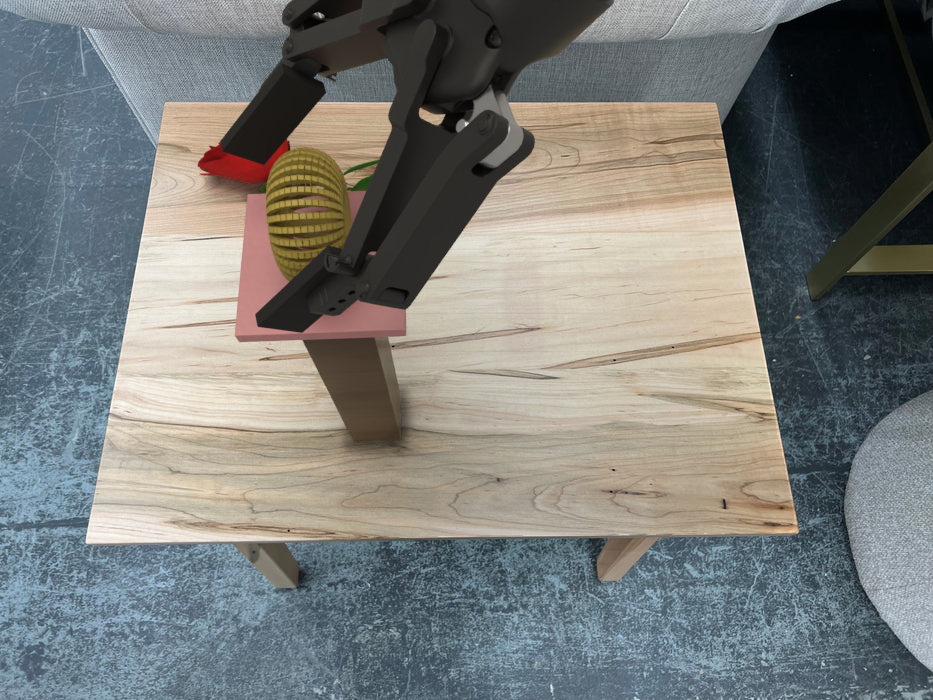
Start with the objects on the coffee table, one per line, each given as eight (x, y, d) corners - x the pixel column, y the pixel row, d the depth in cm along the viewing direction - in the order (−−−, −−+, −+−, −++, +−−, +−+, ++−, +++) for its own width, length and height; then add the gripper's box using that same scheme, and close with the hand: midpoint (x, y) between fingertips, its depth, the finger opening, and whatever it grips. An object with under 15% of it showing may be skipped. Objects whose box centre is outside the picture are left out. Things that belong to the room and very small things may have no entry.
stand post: (401, 439, 72) (365, 301, 42) (353, 441, 72) (283, 303, 42) (400, 394, 74) (366, 232, 44) (354, 396, 73) (287, 234, 44)
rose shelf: (406, 336, 41) (405, 329, 40) (239, 342, 41) (234, 335, 40) (404, 198, 45) (403, 189, 44) (251, 202, 45) (247, 193, 44)
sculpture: (358, 313, 41) (337, 241, 33) (290, 317, 41) (254, 246, 33) (355, 201, 44) (335, 113, 36) (292, 205, 44) (259, 117, 36)
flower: (442, 135, 73) (180, 111, 77) (432, 224, 74) (173, 196, 78) (455, 153, 82) (220, 131, 86) (446, 232, 83) (213, 207, 87)
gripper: (735, 183, 24) (360, 428, 37) (525, -203, 33) (279, 101, 45) (633, 107, 19) (231, 426, 31) (412, -333, 27) (166, 54, 40)
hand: (259, 234), depth 38 cm, fingers open, 11 cm apart
